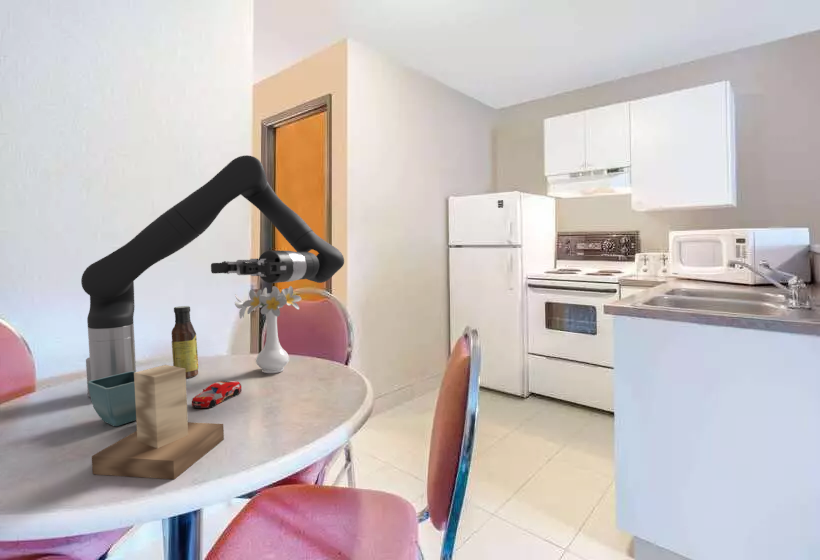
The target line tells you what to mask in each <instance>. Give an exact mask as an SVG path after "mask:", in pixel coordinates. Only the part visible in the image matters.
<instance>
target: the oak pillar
mask: <svg viewBox="0 0 820 560" xmlns="http://www.w3.org/2000/svg"><path fill="white" fill-rule="evenodd" d="M134 384H135V403H136V420H135V421H136V431H137V442H140V443H143V444H146V445H149V446H152V447H155V448H160V447H162V446H164V445H167V444H169V443H171V442H174V441H176V440H178V439H181V438H183V437H185V436H188V421H189V420H188V400H187V399H188V397H187V396H188V395H187V378H186V371H185V368H180V367H175V366H173V365H170V364H163V365H159V366H155V367H152V368H148V369H143V370H139V371H136V372H135V373H134Z"/></svg>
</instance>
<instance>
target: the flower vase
mask: <svg viewBox="0 0 820 560" xmlns="http://www.w3.org/2000/svg"><path fill="white" fill-rule="evenodd" d="M271 290H272V291H271V292H268V289H267V287H264V288H263V290H261V289H259V290H257V292H255V291H254V290H253V289H250V290H249V292H248V295H249V296H248V297H249V298H250V299H247V300H245V301H243V300H242V299H241V298H240V297H239V296H238V294H234V296H235V298H236V301H235V302H234V305H235V307H236V308H237V309H240V310H239V313H238V314H239V319H242V318H244V317H245V313H246V310H247V315H250V314H251V313H252V312H253V310H255V309H257V308H261V309H260V313H261V315H264V316H265V322H266V333H265V334H266V335H265V336H266V339H265V343H264V346H263V348H262V350H260V352H259V353H258V354H257V357H256V359H255V363H256V365H257V366H258V367H259V368H260V369H261V372H262V373H263V374H278V373H281V372H283V371H284V370H285V367H286V366H288V365H287V364H288V363H290V356H289V354H288V352H287V351H286V350H285V349H284V348H283V347H282V345H281V343H280V340H279V334H278V333H279V331H278V317H280V315H281V310H280V308H281V309H282V308H283V307H284V306H285V305H287V306H289V307H290V306H292V307H294V309H296V310H300V306H299V304H297V302H300V301H302V297H301V296H300V295H297V294H294V288H293V286H292V285H289V287H286V288H284V289H281V291H280V289H279V288H278V286H275V285H274V286H272V289H271ZM248 307H249V308H248Z"/></svg>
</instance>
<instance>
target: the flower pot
mask: <svg viewBox="0 0 820 560" xmlns="http://www.w3.org/2000/svg"><path fill="white" fill-rule="evenodd" d="M134 373H135V372H134V371H131V372H126V373H122V374H117V375H113V376H109V377H105V378H101V379H96V380H92V381H88V382H87V381H86V384H87V383H88V387H89V392H90V396H91V397H90V400H91V403H92V406H93V409H94V410H95V412H96V413H97V415H98V417H99V418H101V420H102V421H103V422H104V423H106V424H109V425H110V426H113V427H119V426H122V425H125V424H128V423H131V422H134V421H136V403H135V384H134Z"/></svg>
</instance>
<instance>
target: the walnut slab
mask: <svg viewBox="0 0 820 560" xmlns="http://www.w3.org/2000/svg"><path fill="white" fill-rule="evenodd" d="M224 431H225V430H224V423H211V422H210V423H209V422H191V421H189V422H188V436H185V437H183V438H181V439H178V440H176V441H174V442H171V443H169V444H167V445H164V446H162V447H160V448H155V447H152V446H149V445H146V444H143V443H140V442H137V430H136V431H134V432H132V433H130V434H128V435H126V436H125V437H123V438H121V439H119V440H118V441H116V442H114V443H112V444H110V445H109V446H107V447H105V448H103V449H101V450H100V451H97V452H96V453H93V455H91V466H92V475H98V476H99V475H101V476H116V477H129V478H133V477H134V478H147V479H161V480H162V479H163V480H165V479H166V480H175V479H177V478H178V477H180V476H181V475H182V474H183V473H184V472H186V470H188V469H189V468H191V467H192V466H193V465H194V464H196V462H198V461H199V460H200V459H202V458H203V457H204V456H205V455H207V454H208V453H209V452H211V451H212V450H213V449H214V448H215V447H216V446H218V445H219V444H220V443H222V442H223V441H224V440H225V437H224V436H225V434H224Z"/></svg>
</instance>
